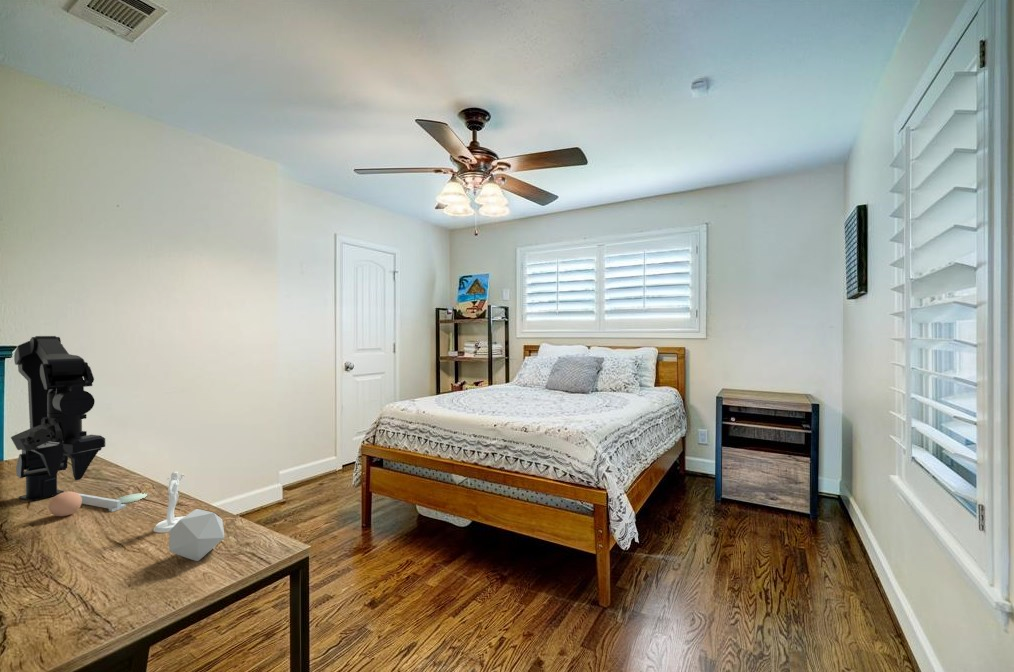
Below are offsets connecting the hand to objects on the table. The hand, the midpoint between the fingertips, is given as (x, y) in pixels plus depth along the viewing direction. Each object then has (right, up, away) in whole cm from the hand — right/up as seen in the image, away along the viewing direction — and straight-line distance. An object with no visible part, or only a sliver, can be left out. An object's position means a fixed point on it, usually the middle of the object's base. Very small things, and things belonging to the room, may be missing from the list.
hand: (65, 477), depth 103 cm
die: (+44, -9, -19) cm, 49 cm away
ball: (0, -9, 0) cm, 9 cm away
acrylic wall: (+2, -9, +6) cm, 11 cm away
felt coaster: (+7, -9, +10) cm, 15 cm away
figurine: (+30, -9, -6) cm, 32 cm away
